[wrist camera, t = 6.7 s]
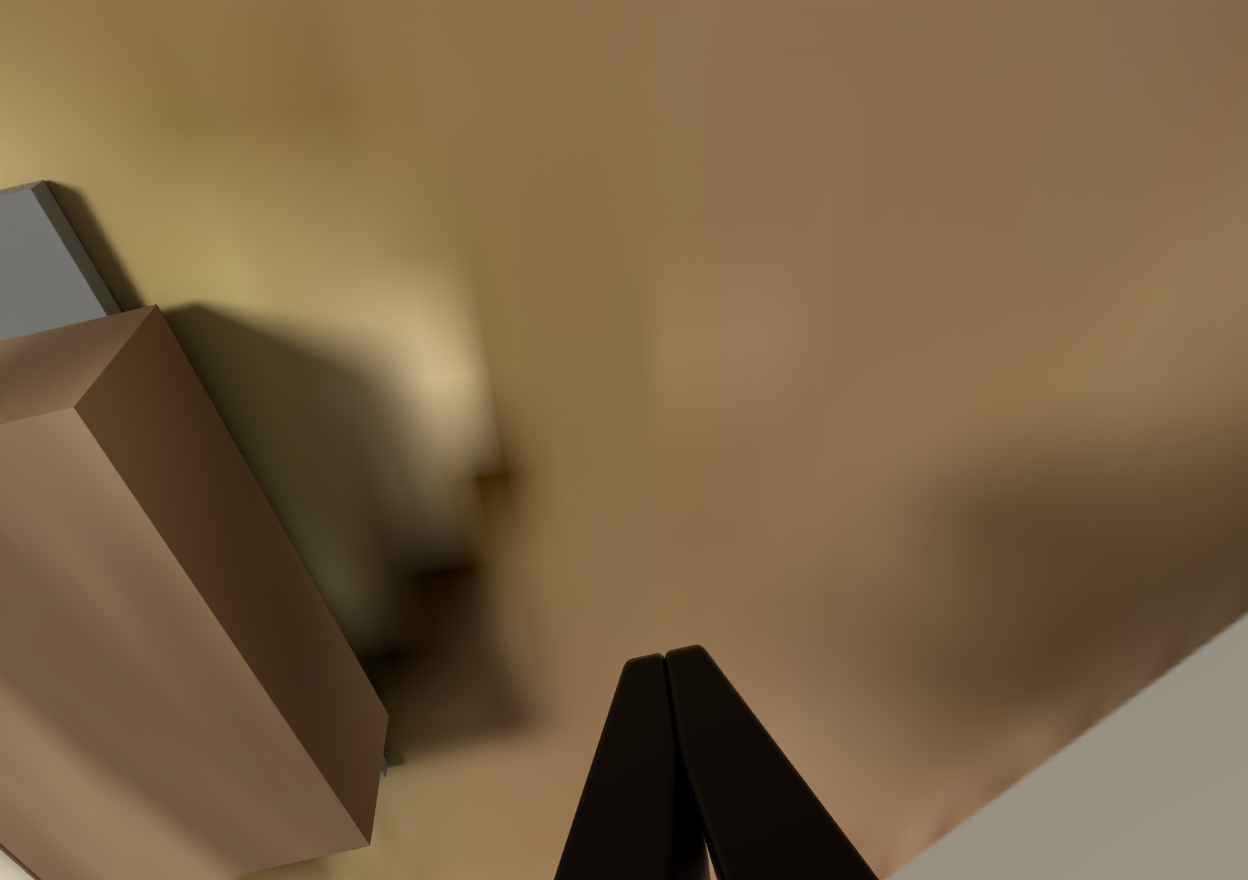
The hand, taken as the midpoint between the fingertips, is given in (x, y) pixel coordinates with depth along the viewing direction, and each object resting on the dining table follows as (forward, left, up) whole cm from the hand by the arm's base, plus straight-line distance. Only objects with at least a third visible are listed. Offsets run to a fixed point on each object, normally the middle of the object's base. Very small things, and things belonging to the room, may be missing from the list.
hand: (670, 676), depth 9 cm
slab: (+7, +2, -5) cm, 8 cm away
